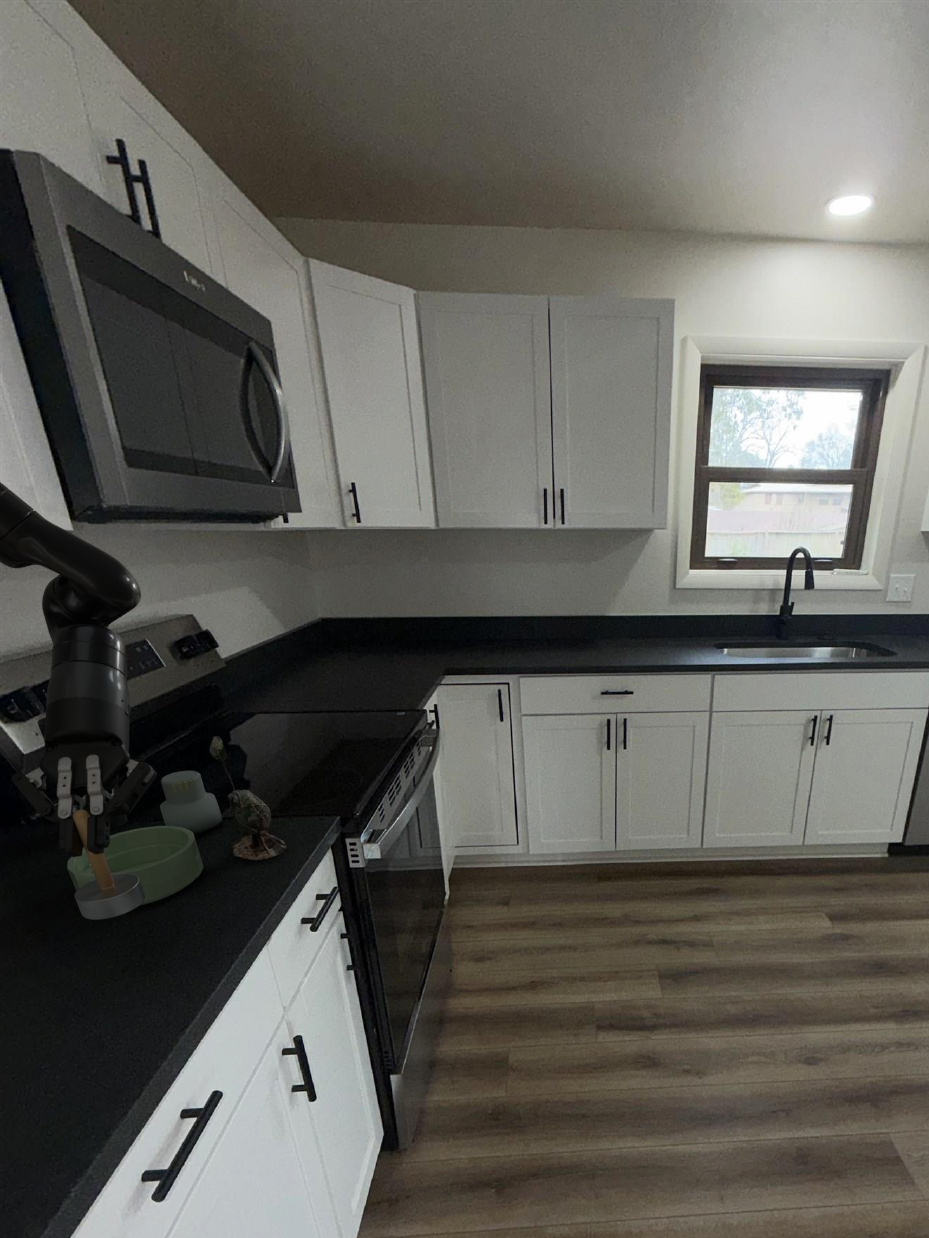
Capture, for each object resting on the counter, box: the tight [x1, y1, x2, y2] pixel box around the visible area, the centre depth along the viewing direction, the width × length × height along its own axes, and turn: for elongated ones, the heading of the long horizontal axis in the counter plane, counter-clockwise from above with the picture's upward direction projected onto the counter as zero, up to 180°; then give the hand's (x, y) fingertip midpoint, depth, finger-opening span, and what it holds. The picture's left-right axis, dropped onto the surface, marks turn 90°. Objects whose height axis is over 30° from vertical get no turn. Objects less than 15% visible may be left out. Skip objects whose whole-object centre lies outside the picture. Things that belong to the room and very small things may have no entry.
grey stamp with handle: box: [73, 810, 145, 921], centre depth 72 cm, size 6×6×12 cm
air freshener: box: [159, 770, 223, 835], centre depth 113 cm, size 11×8×10 cm
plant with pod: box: [209, 735, 288, 862], centre depth 103 cm, size 8×11×20 cm
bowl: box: [66, 825, 204, 907], centre depth 97 cm, size 16×16×6 cm
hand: (84, 852), depth 69 cm, fingers closed on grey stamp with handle, 1 cm apart
